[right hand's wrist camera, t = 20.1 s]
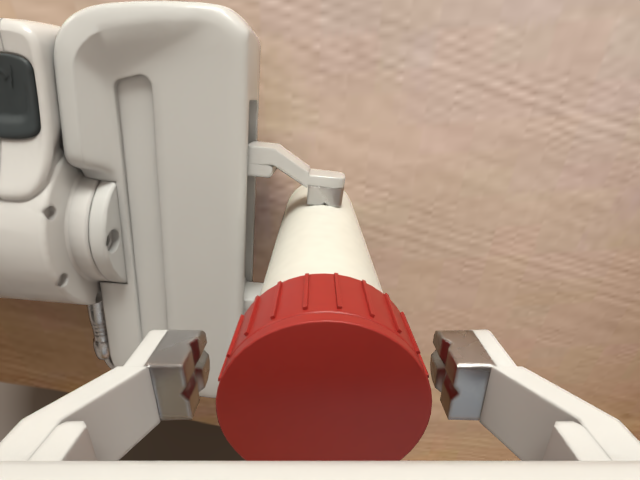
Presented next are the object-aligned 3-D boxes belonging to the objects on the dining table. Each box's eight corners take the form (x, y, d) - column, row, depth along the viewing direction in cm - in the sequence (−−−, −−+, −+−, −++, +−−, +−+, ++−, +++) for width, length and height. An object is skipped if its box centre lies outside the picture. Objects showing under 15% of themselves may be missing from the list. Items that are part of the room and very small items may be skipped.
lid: (196, 347, 11) (165, 410, 8) (326, 231, 9) (328, 270, 7) (319, 439, 12) (320, 513, 10) (446, 350, 11) (479, 413, 8)
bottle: (366, 219, 24) (444, 402, 9) (313, 256, 25) (308, 476, 10) (325, 166, 23) (343, 281, 8) (271, 207, 23) (197, 379, 9)
